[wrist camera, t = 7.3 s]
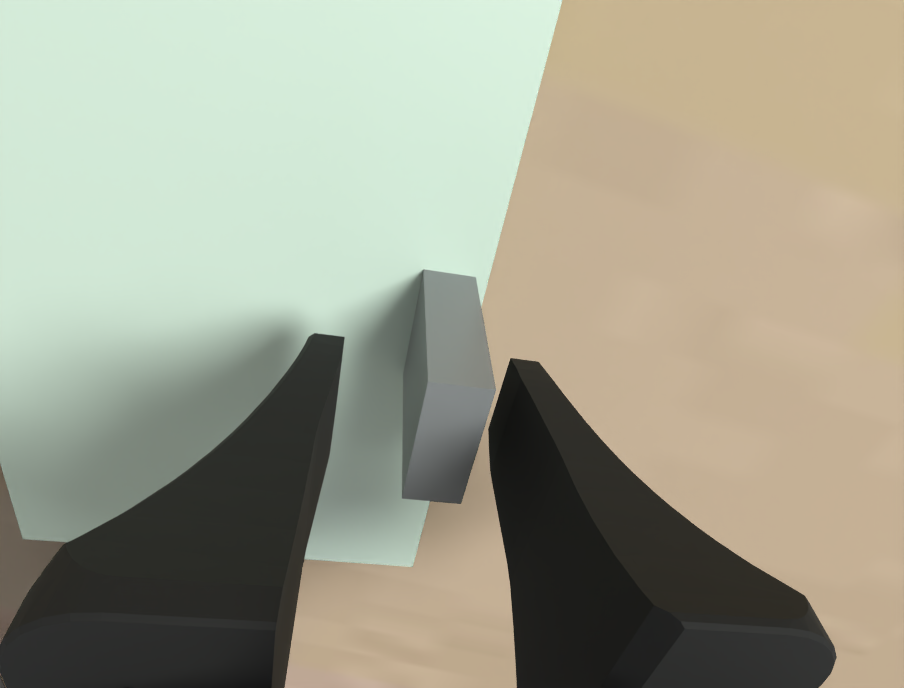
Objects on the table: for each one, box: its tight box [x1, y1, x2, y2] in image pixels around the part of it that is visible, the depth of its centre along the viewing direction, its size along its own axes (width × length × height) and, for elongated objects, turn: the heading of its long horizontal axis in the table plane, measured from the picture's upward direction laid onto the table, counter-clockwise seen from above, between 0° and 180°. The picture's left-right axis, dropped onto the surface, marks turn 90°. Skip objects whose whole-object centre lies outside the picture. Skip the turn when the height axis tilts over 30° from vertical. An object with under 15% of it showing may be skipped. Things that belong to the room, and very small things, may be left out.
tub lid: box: [0, 0, 562, 567], centre depth 13 cm, size 19×12×5 cm, turn 168°
